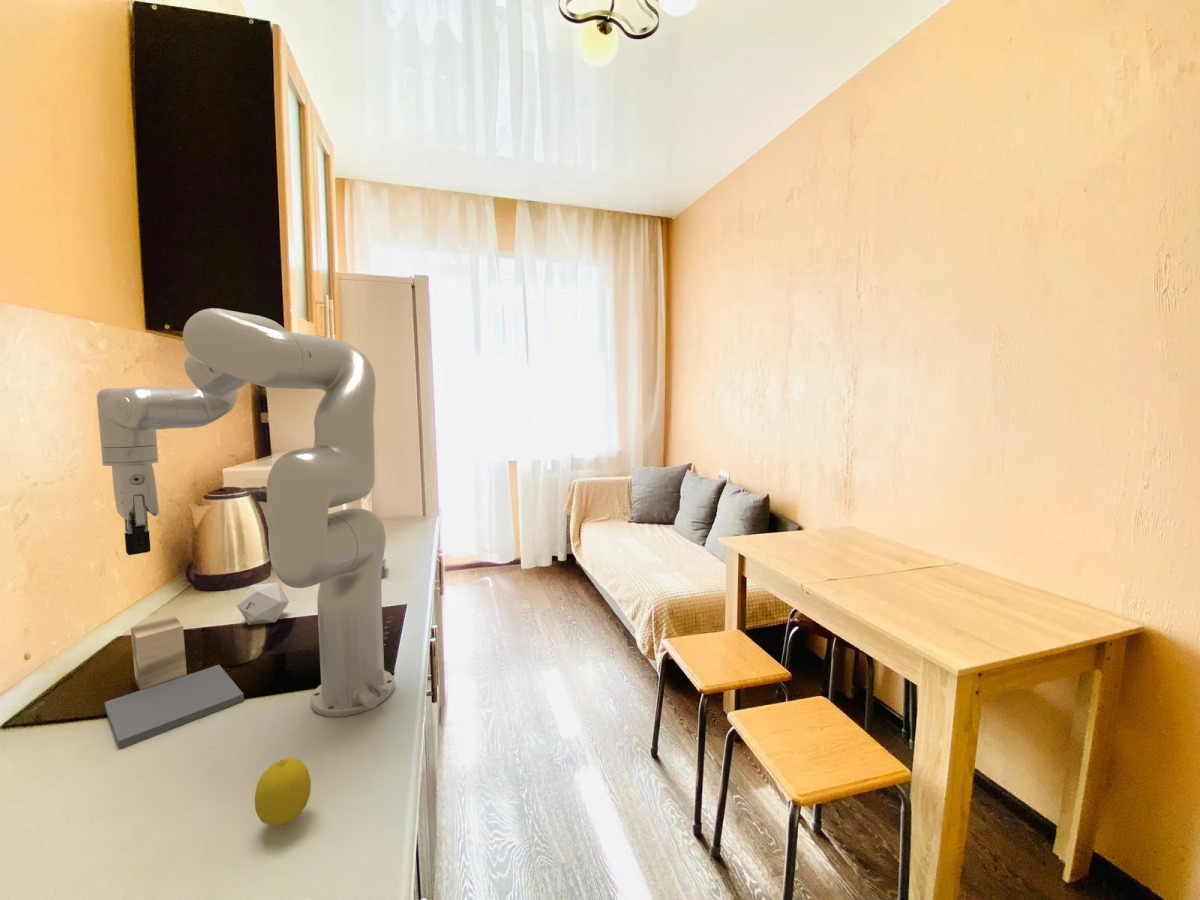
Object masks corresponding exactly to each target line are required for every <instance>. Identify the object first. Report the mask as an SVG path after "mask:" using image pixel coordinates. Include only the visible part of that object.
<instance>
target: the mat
mask: <svg viewBox="0 0 1200 900" xmlns="http://www.w3.org/2000/svg"><path fill="white" fill-rule="evenodd" d="M244 701H245V695H244V692H243V691H242V690H241V688H240V687H239V686H238V685H237V684H236V683H235V682H234V680H233V679H232V678H231V677H230V676H229V674H228V673H227V672H226V671H225V670H224V669H223V667H222V666H221V665H220V664H217V665H214V666H210V667H207V668H205V669H204V668H203V669H202V670H199V671H195V672H192V673H190V674H187V675H186V676H183V677H180V678H177V679H174V680H171V681H168V682H165V683H162V684H158V685H155V686H152V687H149V688H146V689H143V690H137V691H135V692H131V693H128V694H125V695H122V696H119V697H116V698H114V699H110V700H108V701H105V702H104V710H105V713H106V715H107V718H108V721H109V724H110V728H111V730H112V732H113V735H114V738H115V741H116V744H117V746H118V749H119V750H121V749H123V748H125V747H128V746H131V745H133V744H136V743H138V742H140V741H144V740H146V739H148V738H149V739H150V738H152V737H154V736H156V735H159V734H162V733H164V732H167V731H169V730H173V729H174V728H177V727H180V726H183V725H186V724H188V723H190V722H193V721H195V720H198V719H200V718H201V719H202V718H204V717H206V716H208V715H211V714H214V713H216V712H219V711H221V710H224V709H226V708H229V707H231V706H232V707H233V706H235V705H238V704H240V703H242V702H244Z"/></svg>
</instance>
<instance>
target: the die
mask: <svg viewBox="0 0 1200 900" xmlns="http://www.w3.org/2000/svg"><path fill="white" fill-rule="evenodd" d="M289 603H290V600H289V599H288V597H287V596H286V593H285V591H284V590H283V588H282V587H281V585H280V583H279V582H274V583H263V584H262V583H259V584H252V585H250V587H249V588H248V590H247V592H246V593H245V594H244V595H243V596H242V597H241V598H240V600H239V602H238V603H237V605H236V607H237V608H238V610H239V612H240V613H241V615H242V617H243V619H244V620H245V621H246V623H247V625H249V626H250V625H263V624H272V623H276V622H277V621H278V620H279V618H280V616H281V615H282V613H283V611H284V610H285V609H286V607H287V606H288V604H289Z"/></svg>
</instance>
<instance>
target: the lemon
mask: <svg viewBox="0 0 1200 900" xmlns="http://www.w3.org/2000/svg"><path fill="white" fill-rule="evenodd" d="M311 789H312V788H311V776H310V773H309V771H308V768H307V766H306V764H305V763H304V762H303V761H302V760H300V759H298V758H294V757H285V758H281V759H279V760H276V761H274V762H273V763H272V764H270V765H269V766H268V767H267V768H266V769H265V770H264V772H263V773H262V774H261V775H260V777H259V780H258V782H257V785H256V787H255V793H254V809H255V813H256V815H257V817H258V818H259V820H260V821H261V822H262V823H263V824H265V825H267V826H270V827H279V826H280V827H281V826H286V825H288V824H289V823H291V822H292V821H294V820H296V819H297V817H298V816H299V815H301V813H302V812H303V810H304V809H305V807H306V806H307V804H308V801H309V799H310V796H311Z"/></svg>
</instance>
